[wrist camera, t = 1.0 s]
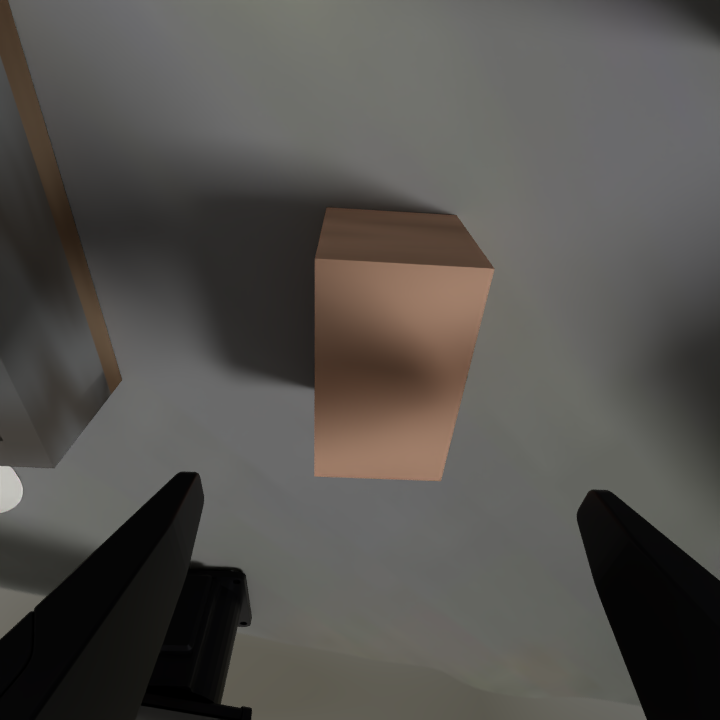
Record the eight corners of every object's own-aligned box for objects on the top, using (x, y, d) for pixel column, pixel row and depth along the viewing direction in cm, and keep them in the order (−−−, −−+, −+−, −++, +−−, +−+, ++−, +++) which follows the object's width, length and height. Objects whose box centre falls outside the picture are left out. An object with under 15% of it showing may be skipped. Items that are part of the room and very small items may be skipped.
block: (422, 393, 19) (440, 480, 15) (323, 389, 19) (314, 476, 15) (455, 214, 15) (494, 268, 11) (326, 206, 15) (315, 258, 10)
